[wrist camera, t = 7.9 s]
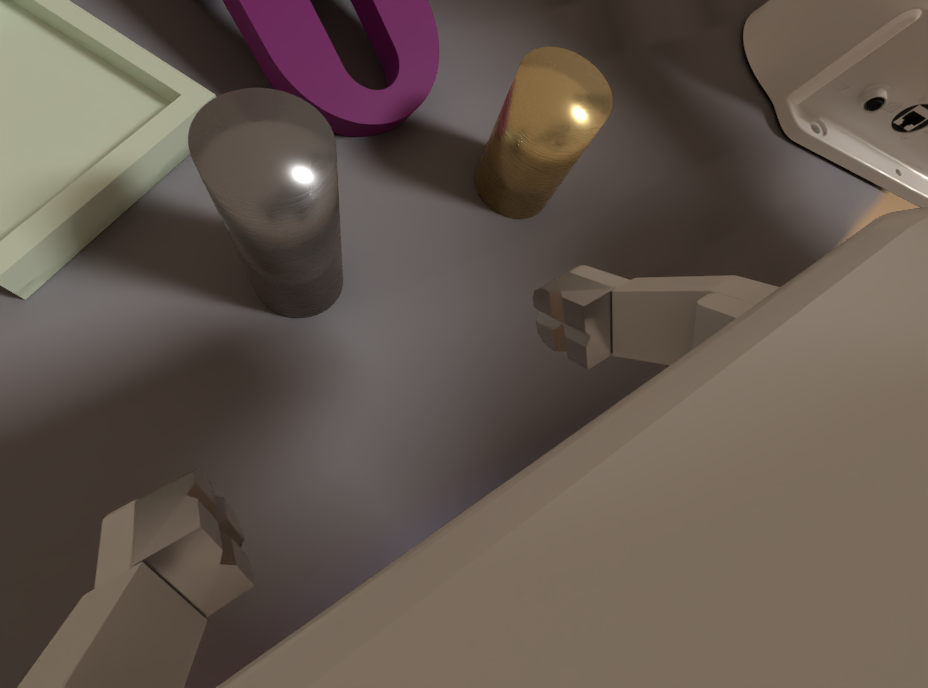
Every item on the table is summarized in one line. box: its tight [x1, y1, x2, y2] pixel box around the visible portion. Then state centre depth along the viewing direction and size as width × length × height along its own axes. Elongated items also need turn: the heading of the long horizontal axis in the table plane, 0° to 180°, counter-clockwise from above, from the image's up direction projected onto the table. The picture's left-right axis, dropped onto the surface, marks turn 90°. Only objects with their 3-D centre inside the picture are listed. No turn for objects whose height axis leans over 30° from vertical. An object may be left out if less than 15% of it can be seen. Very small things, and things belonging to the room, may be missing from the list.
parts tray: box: [0, 0, 216, 300], centre depth 19 cm, size 12×12×2 cm
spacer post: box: [188, 88, 343, 318], centre depth 17 cm, size 4×4×9 cm
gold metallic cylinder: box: [475, 47, 613, 219], centre depth 23 cm, size 5×5×7 cm
